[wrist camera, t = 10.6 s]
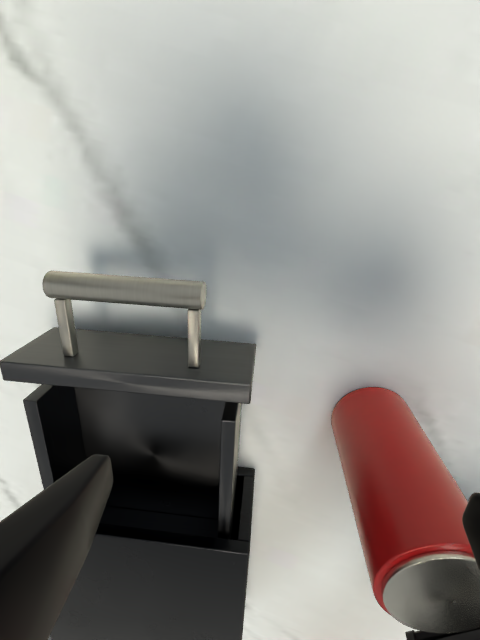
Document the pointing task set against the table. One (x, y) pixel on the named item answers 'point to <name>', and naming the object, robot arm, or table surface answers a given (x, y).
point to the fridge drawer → (139, 405)
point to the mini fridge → (162, 582)
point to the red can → (406, 514)
